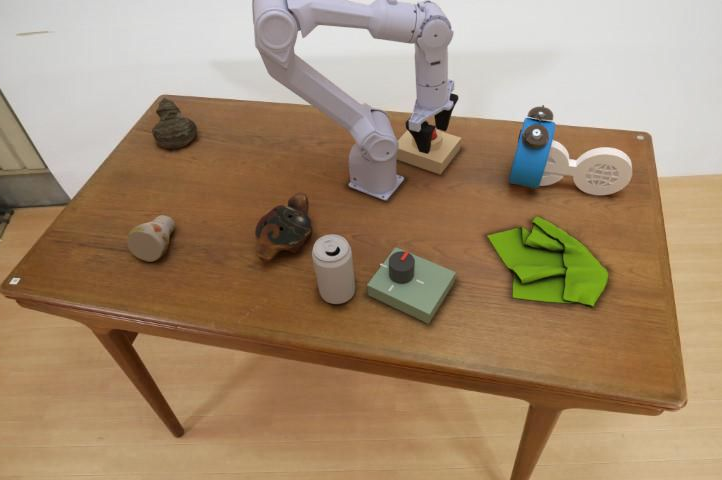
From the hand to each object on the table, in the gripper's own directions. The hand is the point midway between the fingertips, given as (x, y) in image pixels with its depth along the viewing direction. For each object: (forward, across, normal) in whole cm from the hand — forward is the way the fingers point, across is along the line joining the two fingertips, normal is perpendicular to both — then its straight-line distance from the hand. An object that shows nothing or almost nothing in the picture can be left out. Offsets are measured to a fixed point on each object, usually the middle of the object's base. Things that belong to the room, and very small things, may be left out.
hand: (433, 140), depth 96 cm
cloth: (+11, -11, -28) cm, 32 cm away
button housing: (+9, +6, +5) cm, 12 cm away
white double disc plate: (+12, +10, -25) cm, 29 cm away
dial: (+5, -29, -9) cm, 30 cm away
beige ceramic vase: (+5, -44, +37) cm, 58 cm away
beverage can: (+8, -36, 0) cm, 37 cm away
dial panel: (+8, -29, -10) cm, 32 cm away
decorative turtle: (+7, -31, +15) cm, 35 cm away
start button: (+5, +6, +5) cm, 9 cm away
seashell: (+5, -20, +58) cm, 62 cm away
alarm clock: (+11, +8, -17) cm, 22 cm away
